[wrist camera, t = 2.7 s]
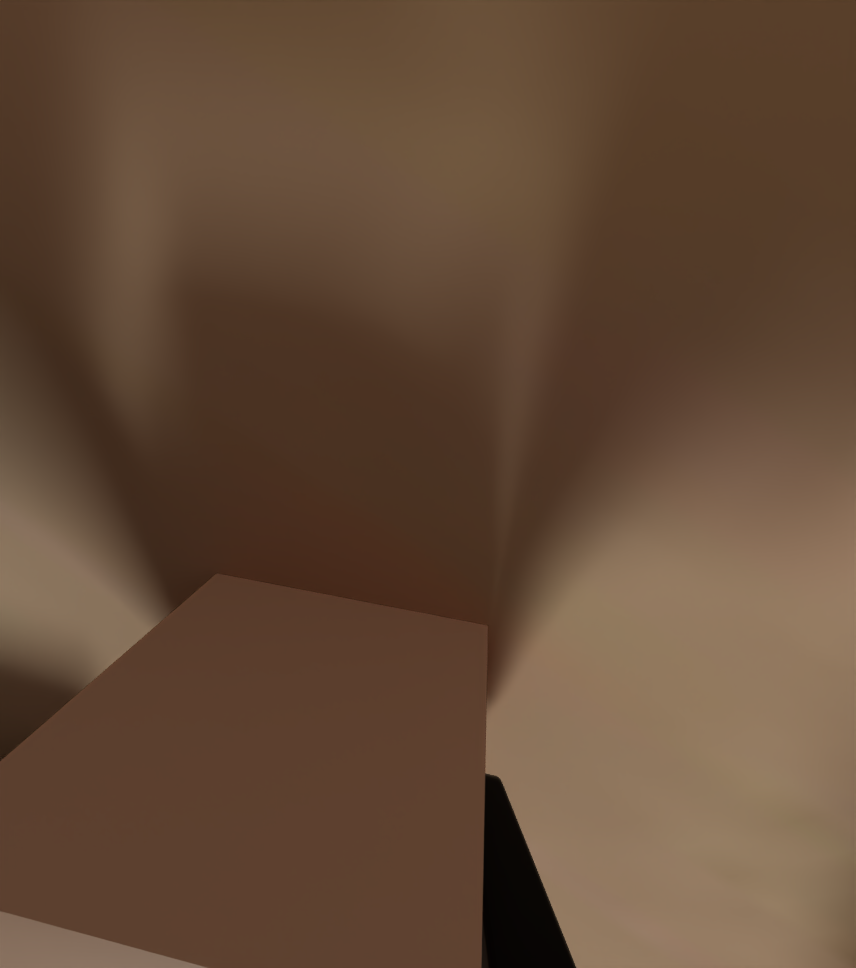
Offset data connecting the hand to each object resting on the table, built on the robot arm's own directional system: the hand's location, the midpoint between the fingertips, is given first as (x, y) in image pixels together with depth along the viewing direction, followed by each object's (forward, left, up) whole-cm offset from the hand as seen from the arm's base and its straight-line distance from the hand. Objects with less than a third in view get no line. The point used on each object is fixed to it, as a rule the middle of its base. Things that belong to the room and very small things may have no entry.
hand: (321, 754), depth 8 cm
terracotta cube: (0, 0, -1) cm, 1 cm away
